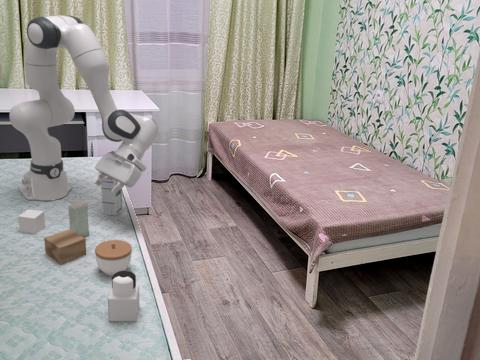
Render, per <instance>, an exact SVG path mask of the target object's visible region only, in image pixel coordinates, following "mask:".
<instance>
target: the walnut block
mask: <svg viewBox="0 0 480 360" xmlns="http://www.w3.org/2000/svg"><path fill="white" fill-rule="evenodd" d="M43 241H44V251H45V255H47V256H48V257H49V258H50V259H52V260H54V261H55V262H56V263H58V264H60V265H63V264H66V263H69V262H71V261H74V260H76V259H80V258H82V257H85V256H86V255H87V242H86V241H87V239H86V237H82V236H80V235H79V234H77V233H75V232H74V231H72V230H71V229H70V228H69V229H65V230H63V231H59V232H57V233H54V234H51V235H48V236H46V237H44V238H43Z"/></svg>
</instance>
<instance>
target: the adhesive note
mask: <svg viewBox="0 0 480 360" xmlns="http://www.w3.org/2000/svg"><path fill="white" fill-rule="evenodd" d="M18 225H19V227H18V229H19V232H20V233H26V234H27V233H28V234H33V235H37V234H38V233H39V232H41V231H42V230H43V229H44V228H45V227H46V222H45V211H43V210H42V211H41V210H35V209H29V208H28V209H26V210H25V211H23V212H22V213H21V214H20V215H18Z"/></svg>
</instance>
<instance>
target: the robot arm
mask: <svg viewBox="0 0 480 360" xmlns="http://www.w3.org/2000/svg"><path fill="white" fill-rule="evenodd" d="M26 36H27V37H26V39H25V46H24V69H25V72H24V73H25V74H24V75H25V82H26V84H27V86H29V88H31V89H32V90H34V91H37V92H38V95H39V99H36V100H29V101H23V102H21V103H17V104H16V105H13V106H12V107H11V109H9V122H10V124H11V125H12V126H13V128H14V129H16V130H17V131H19V132H21V133H22V134H23V135H24V137H25V138H26V139H27V140H28V144H29V149H30V156H31V160H30V167H29V170H28V171H26V173H25V174H24V175H23V179H21V182H22V183H21V184H19V185H17V188H18V190H19V191H20V193H21V194H22V196H24V198H25V199H26V200H27V201H35V200H36V201H43V202H44V201H55V200H59V199H62V198H65V197H66V196H67V195H68V194H69V192H70V191H71V190H72V188H71V186H70V185H69V183H68V174H67V171H66V170H64V162H63V159H62V150H61V149H62V148H61V147H62V146H61V143H60V141H59V140H58V138H56V137H55V136H52V135H50V134H49V131H48V129H49V128H53V127H56V126H57V127H58V126H62V125H64V124H67V123H69V122H71V121H72V120H73V119H74V117H75V111H76V109H75V106H74V104H73V103H72V101H71V100H70V99H69V98H67V97H66V96H65V95H64V94H63V92H62V90H61V88H60V85H59V79H58V78H59V76H58V75H59V74H58V61H57V59H58V58H57V55H58V54H57V53H58V50H59V49H63V48H65V49H66V50H67V52H68V53H69V55H70V58H71V59H72V62H73V64H74V66H75V68H76V70H77V71H78V73H79V75H80V77H81V78H82V79H83V82H84V83H85V85H86V87H87V88H88V89H89V91H90V94H91V96H92V98H93V99H94V103H95V104H96V107H97V110H98V112H99V114H100V117H101V122H102V124H101V129H102V133H103V135H104V137H105V138H106V139H107V140H108V141H111V142H115V143H119V142H121V143H120V145H119V146H118V148H116V150H111V151H110V152H107V153H105V154H104V155H103V156H102V157H101V158H100V160H98V161H97V163H96V164H95V168H94V169H95V170H96V171H97V172H98V173H97V177H96V180H95V181H94V184H95V185H96V186H98V187H101V184H102V179H103V178H104V177H105V176H108V177H110V178H112V179H114V180H116V181H118V182H117V185H116V186H115V187H112V188H111V189H110V192H111V193H113V194H116V192H117V191H118V190H120V189H121V188H122V189H123V188H124V186H125V187H128V188H133V187H134V186H135V185H136V184H137V183H138V181H139V180H140V178H141V176H142V175H143V172H145V171H146V169H147V166H146V164H145V163H144V162H143V161H142V159H143V157H144V155H145V153H146V152H147V150H149V149H150V148H151V146H152V145H153V143H154V142H155V141H156V139H157V137H158V135H159V127H158V124H157V123H156V122H155V120H154V119H152V118H151V117H150V116H147V115H138V114H134V113H131V112H129V111H126V110H125V109H118V108H117V106H116V104H115V101H114V98H113V96H112V94H111V91H110V88H109V74H110V67H109V62H108V60H107V56H106V53H105V51H104V49H103V47H102V45H101V43H100V40H98V38H97V36H96V34H95V33H94V31H93V30H92V29H91V27H90V26H88V25H87V24H86V23H84V22H83V21H82V20H81V19H80V18H78V17H76V16H73V15H63V14H62V15H61V14H54V15H47V16H38V17H35V18H32V19H31V20H30V21H29V22H28V23H27V26H26Z"/></svg>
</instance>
